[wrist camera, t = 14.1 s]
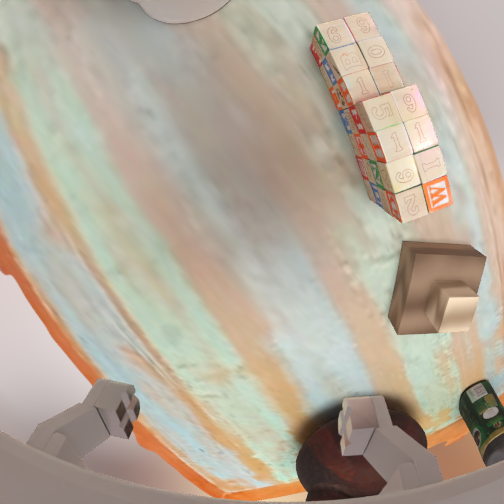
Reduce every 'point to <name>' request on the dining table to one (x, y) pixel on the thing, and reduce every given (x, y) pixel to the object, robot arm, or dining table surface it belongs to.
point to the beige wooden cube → (451, 305)
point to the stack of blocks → (382, 119)
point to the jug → (344, 463)
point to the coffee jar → (484, 420)
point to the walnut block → (429, 280)
